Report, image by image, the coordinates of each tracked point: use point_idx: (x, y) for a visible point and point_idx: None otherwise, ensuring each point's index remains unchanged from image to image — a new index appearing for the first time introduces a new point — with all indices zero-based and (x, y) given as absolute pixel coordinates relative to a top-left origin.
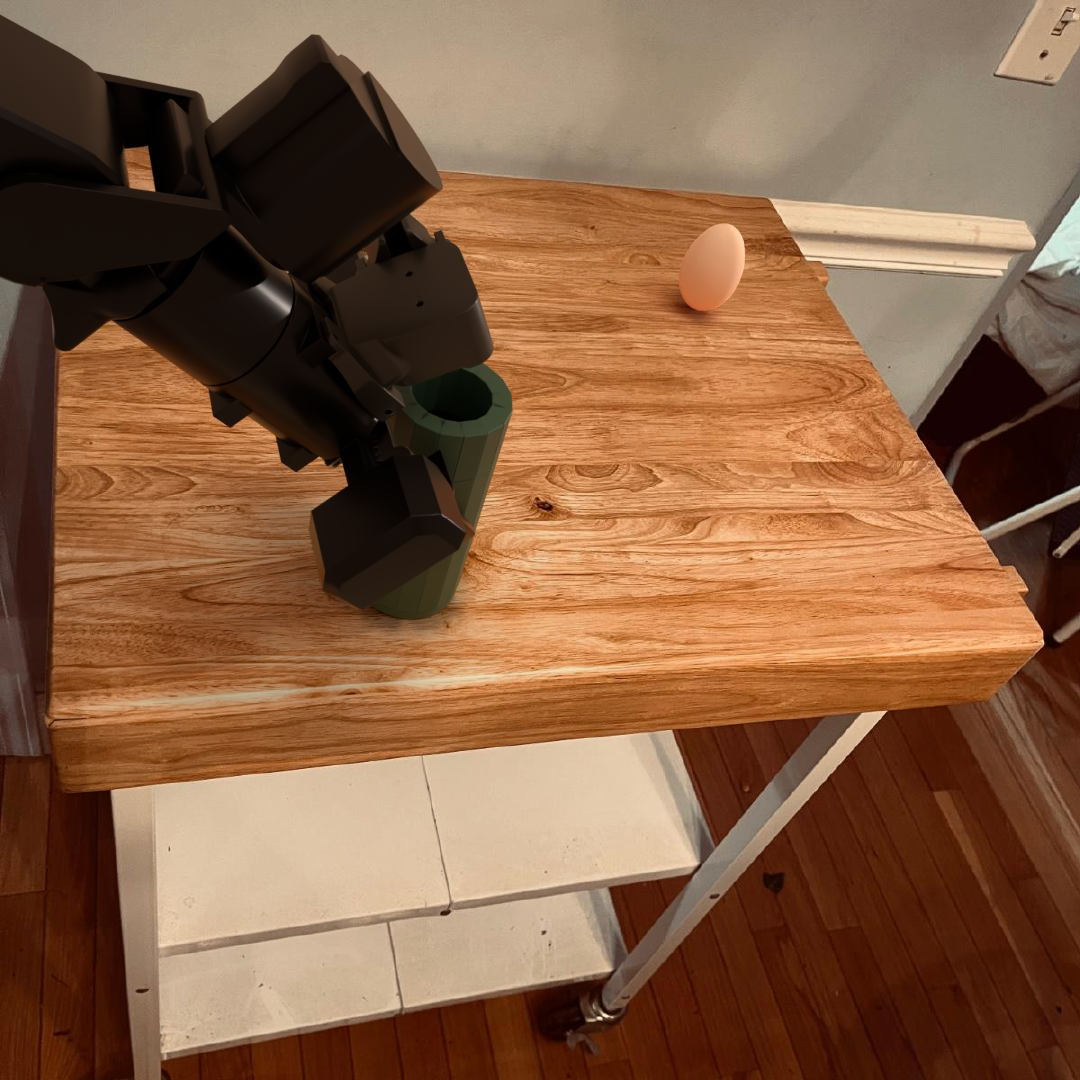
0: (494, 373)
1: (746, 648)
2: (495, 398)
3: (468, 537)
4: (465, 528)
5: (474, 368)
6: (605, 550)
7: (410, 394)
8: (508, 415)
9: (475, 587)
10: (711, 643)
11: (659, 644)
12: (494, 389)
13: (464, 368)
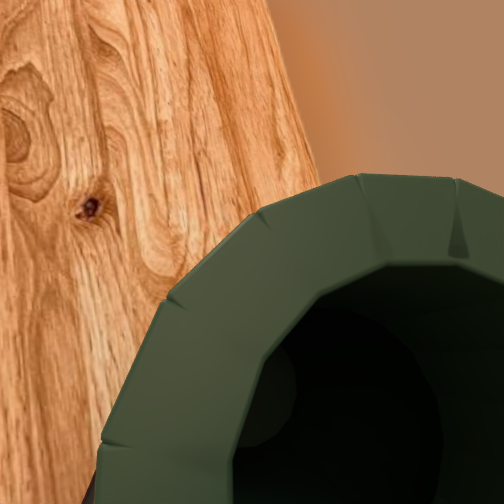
0: (236, 249)
1: (267, 35)
2: (411, 249)
3: None
4: None
5: (221, 365)
6: (158, 144)
7: None
8: (496, 196)
9: None
10: (267, 63)
11: (278, 110)
12: (352, 252)
13: (239, 431)
